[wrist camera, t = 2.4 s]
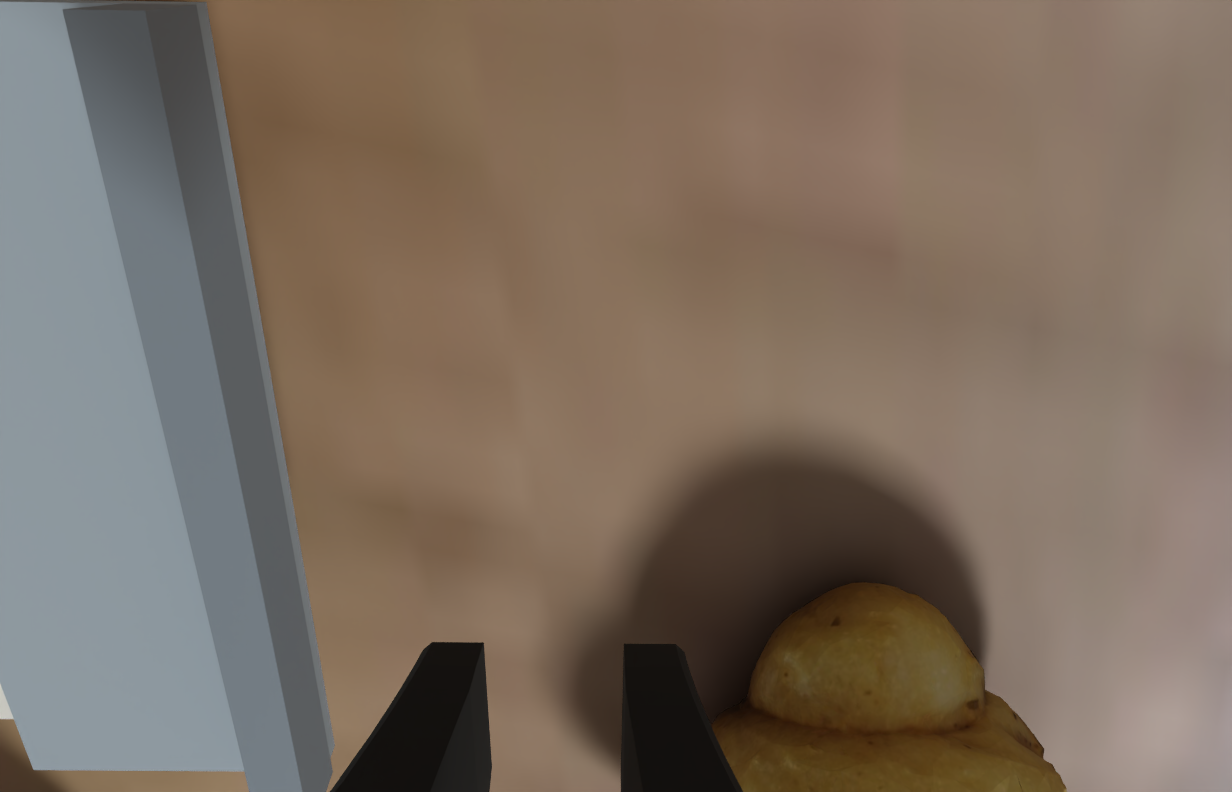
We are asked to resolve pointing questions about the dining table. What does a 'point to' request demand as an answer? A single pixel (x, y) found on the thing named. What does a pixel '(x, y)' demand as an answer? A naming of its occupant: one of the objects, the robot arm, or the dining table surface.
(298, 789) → the flap
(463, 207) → the dining table surface
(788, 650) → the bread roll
